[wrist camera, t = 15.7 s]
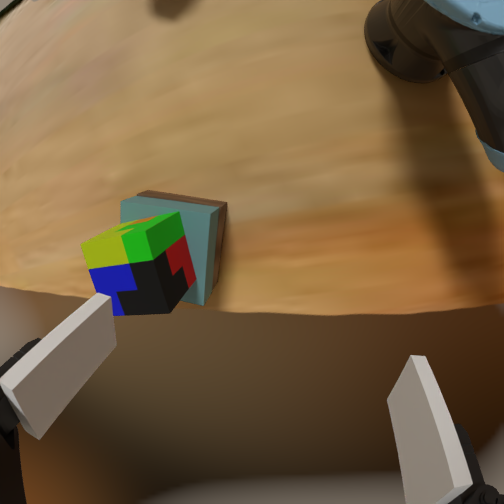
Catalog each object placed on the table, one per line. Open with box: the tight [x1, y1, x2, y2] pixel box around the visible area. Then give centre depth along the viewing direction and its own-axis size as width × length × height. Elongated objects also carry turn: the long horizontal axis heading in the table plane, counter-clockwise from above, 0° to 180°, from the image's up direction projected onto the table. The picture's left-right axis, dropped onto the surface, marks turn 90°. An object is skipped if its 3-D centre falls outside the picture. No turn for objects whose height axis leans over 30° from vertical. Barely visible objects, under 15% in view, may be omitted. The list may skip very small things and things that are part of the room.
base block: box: [137, 190, 227, 290], centre depth 50 cm, size 14×14×4 cm
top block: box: [121, 196, 219, 306], centre depth 46 cm, size 14×14×4 cm
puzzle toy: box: [81, 211, 197, 316], centre depth 39 cm, size 10×10×10 cm
